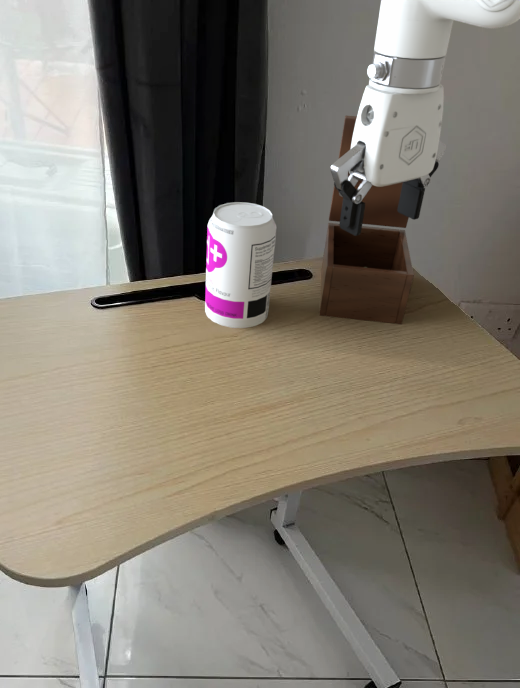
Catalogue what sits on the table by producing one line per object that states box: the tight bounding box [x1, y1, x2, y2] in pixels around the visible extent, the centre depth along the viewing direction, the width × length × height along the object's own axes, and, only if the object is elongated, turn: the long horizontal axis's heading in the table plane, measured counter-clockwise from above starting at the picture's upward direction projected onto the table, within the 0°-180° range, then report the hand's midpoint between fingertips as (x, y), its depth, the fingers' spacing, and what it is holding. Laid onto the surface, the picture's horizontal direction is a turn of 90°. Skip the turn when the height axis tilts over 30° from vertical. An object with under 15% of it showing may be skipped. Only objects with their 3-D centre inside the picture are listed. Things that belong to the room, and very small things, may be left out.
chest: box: [318, 222, 415, 325], centre depth 89 cm, size 14×11×9 cm
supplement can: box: [204, 201, 278, 329], centre depth 82 cm, size 8×8×15 cm
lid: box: [328, 115, 410, 229], centre depth 88 cm, size 14×11×6 cm
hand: (379, 223), depth 81 cm, fingers open, 9 cm apart
